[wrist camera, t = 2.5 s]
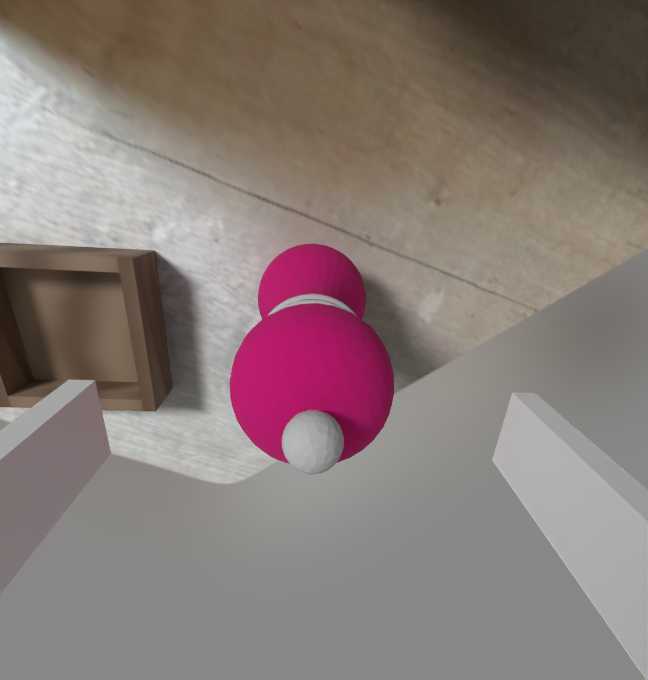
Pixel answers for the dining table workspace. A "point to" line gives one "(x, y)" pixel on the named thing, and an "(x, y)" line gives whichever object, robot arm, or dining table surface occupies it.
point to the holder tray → (81, 325)
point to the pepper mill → (311, 363)
